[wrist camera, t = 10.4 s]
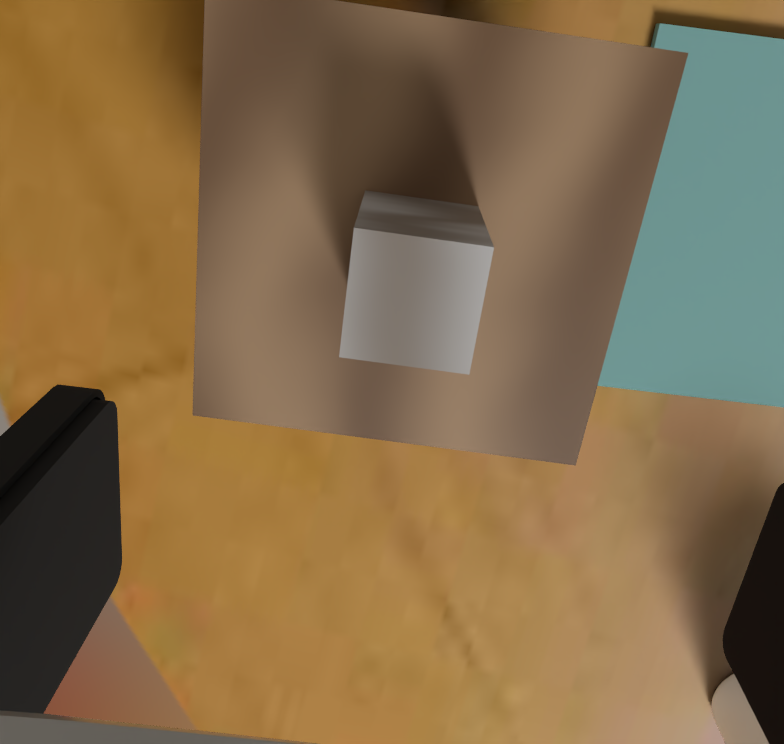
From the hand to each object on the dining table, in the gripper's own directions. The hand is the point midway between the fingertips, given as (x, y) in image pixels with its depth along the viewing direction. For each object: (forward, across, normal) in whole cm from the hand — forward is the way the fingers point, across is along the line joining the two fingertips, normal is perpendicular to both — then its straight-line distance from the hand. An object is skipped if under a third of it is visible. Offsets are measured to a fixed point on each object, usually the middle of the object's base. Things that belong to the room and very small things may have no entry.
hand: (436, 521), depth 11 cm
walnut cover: (+16, 0, 0) cm, 16 cm away
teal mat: (+25, -16, 0) cm, 30 cm away
